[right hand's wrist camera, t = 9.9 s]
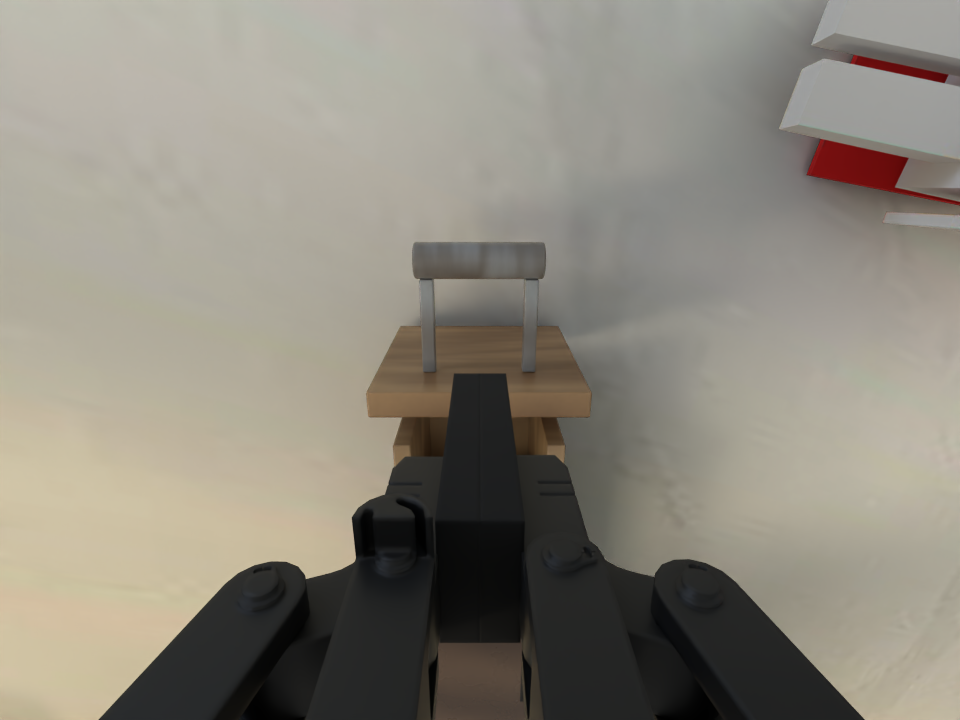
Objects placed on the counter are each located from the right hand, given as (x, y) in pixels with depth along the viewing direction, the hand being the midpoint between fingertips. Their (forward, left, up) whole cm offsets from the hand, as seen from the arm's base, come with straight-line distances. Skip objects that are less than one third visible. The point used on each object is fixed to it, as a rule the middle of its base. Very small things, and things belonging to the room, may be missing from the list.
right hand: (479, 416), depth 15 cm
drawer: (-3, -6, -16) cm, 17 cm away
